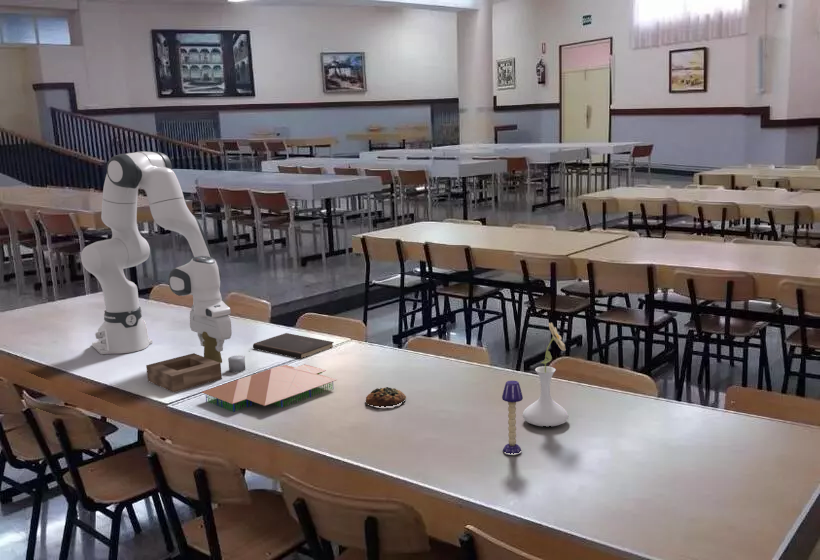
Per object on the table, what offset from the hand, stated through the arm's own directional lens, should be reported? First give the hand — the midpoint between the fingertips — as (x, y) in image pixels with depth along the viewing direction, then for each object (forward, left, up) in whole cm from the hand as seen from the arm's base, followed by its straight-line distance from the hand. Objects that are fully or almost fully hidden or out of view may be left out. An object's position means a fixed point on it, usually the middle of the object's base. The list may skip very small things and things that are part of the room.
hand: (211, 348), depth 254 cm
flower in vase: (+111, +29, -5) cm, 115 cm away
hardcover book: (+7, +27, -6) cm, 28 cm away
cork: (0, 0, -5) cm, 5 cm away
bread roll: (+70, +12, -5) cm, 71 cm away
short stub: (+13, +1, -5) cm, 14 cm away
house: (+41, -4, -5) cm, 41 cm away
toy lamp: (+116, +9, -5) cm, 116 cm away
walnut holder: (+9, -15, -5) cm, 18 cm away
